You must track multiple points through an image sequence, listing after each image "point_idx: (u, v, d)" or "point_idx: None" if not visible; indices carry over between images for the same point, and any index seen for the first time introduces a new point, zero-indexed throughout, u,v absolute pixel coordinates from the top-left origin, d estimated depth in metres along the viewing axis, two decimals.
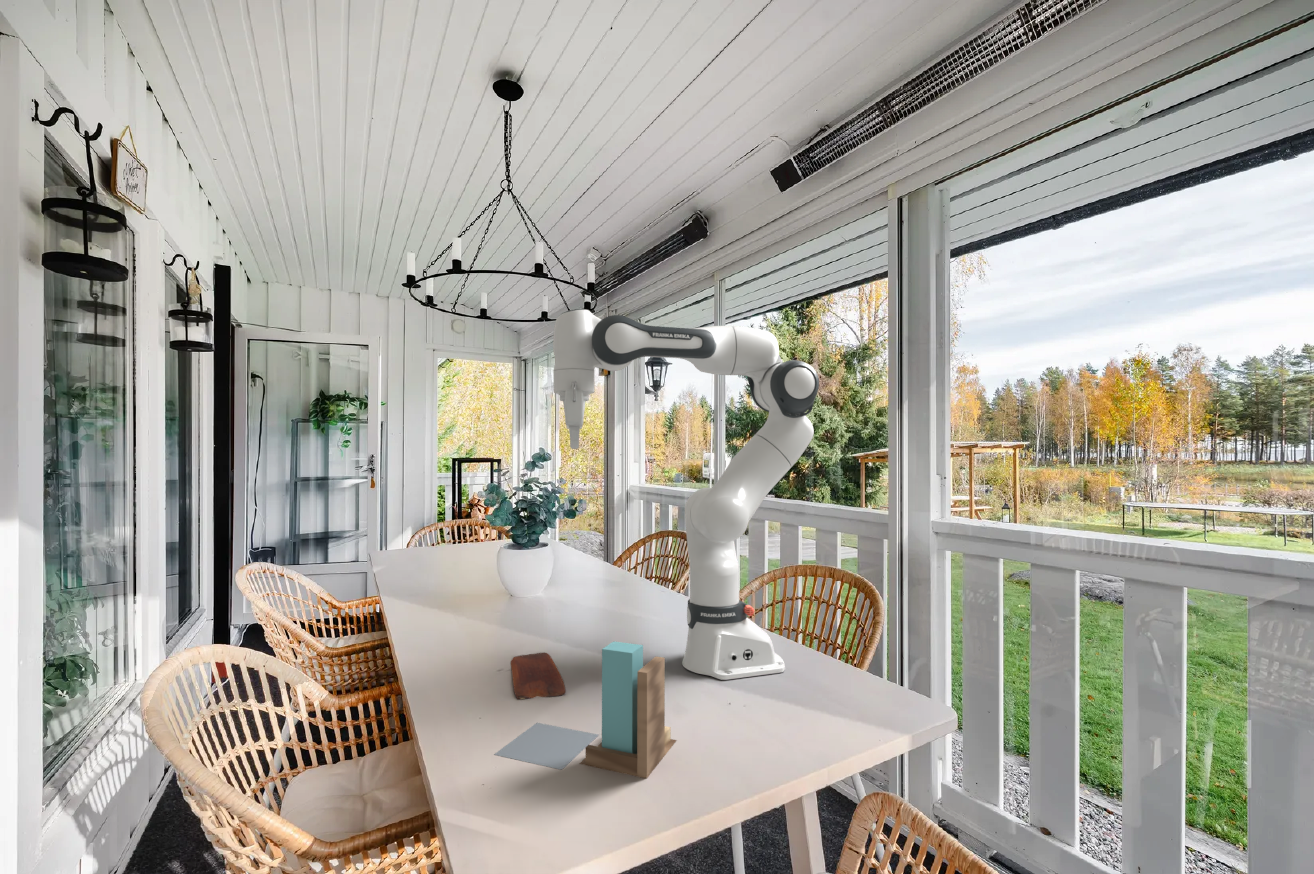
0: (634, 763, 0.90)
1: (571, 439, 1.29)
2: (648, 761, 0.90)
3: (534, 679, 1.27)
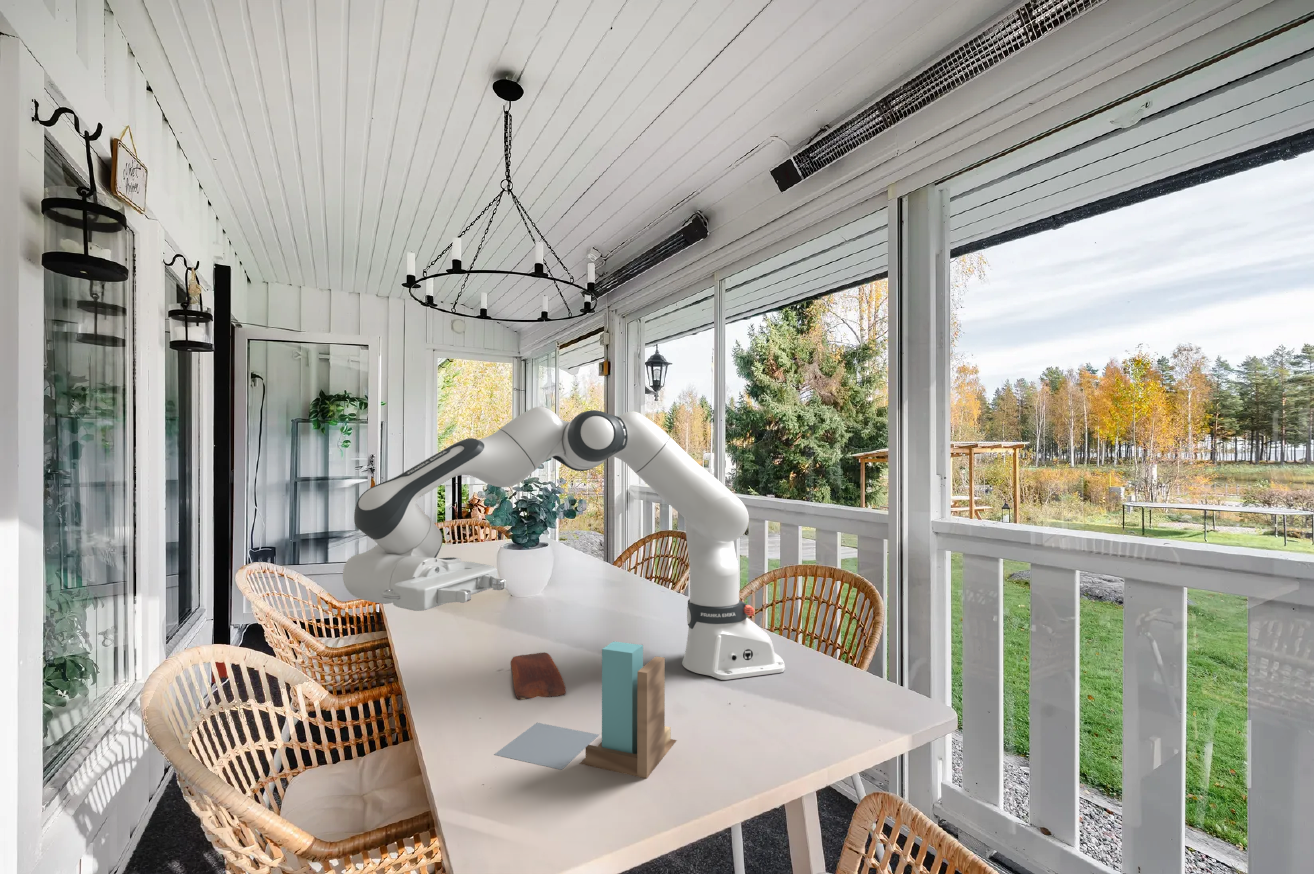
0: (634, 763, 0.90)
1: (454, 600, 1.00)
2: (648, 761, 0.90)
3: (535, 679, 1.27)
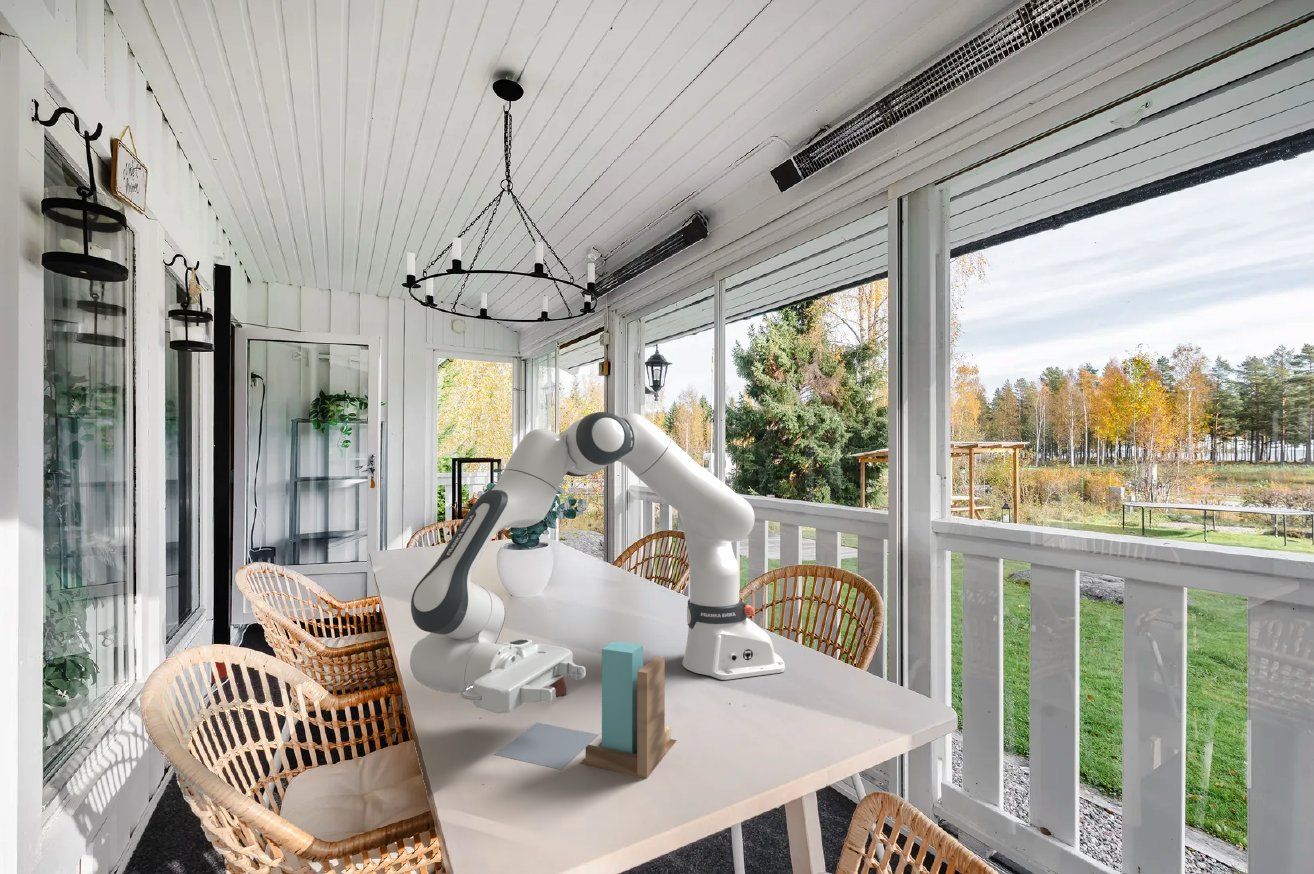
0: (634, 763, 0.90)
1: (539, 699, 0.94)
2: (648, 761, 0.90)
3: None
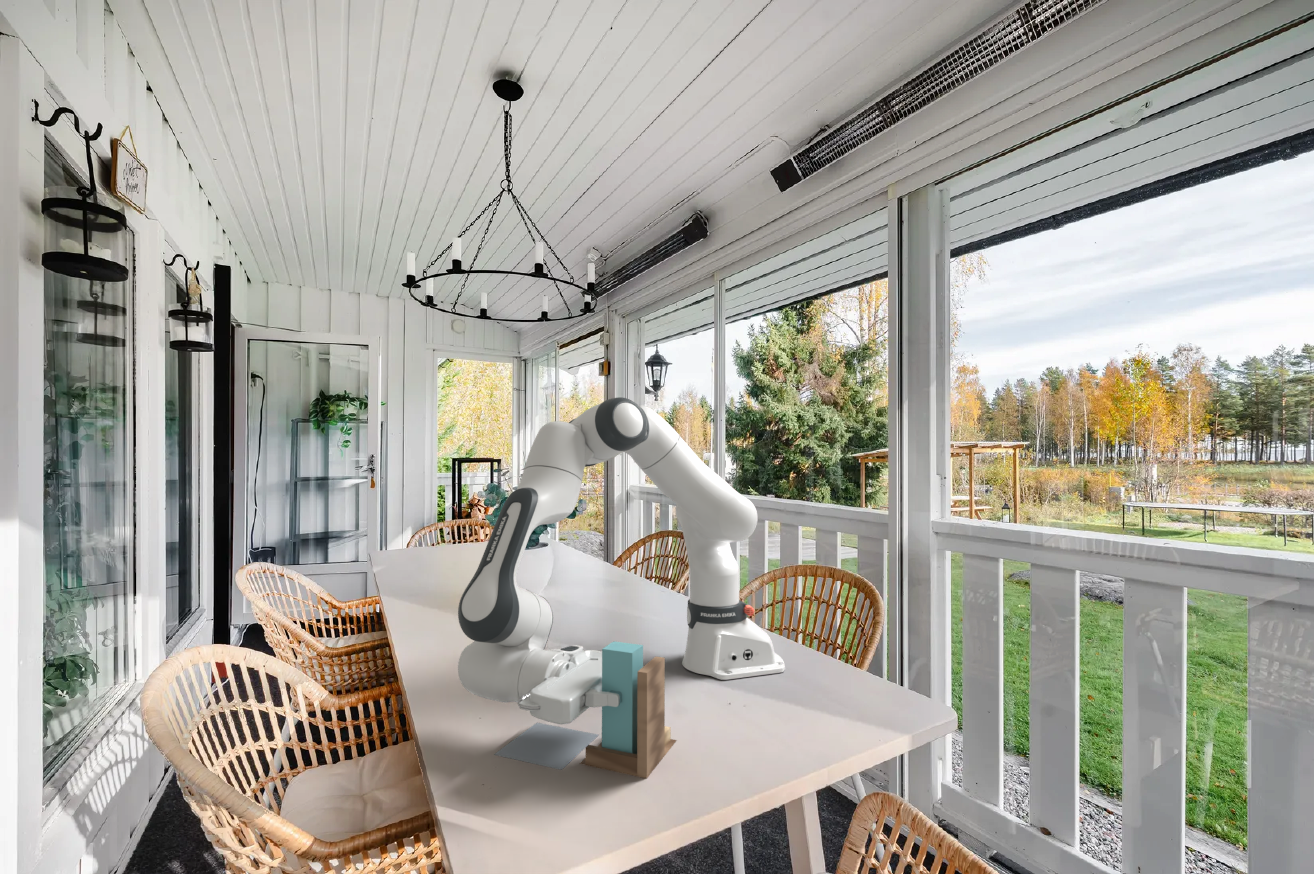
0: (634, 763, 0.90)
1: (606, 703, 0.92)
2: (648, 761, 0.90)
3: None
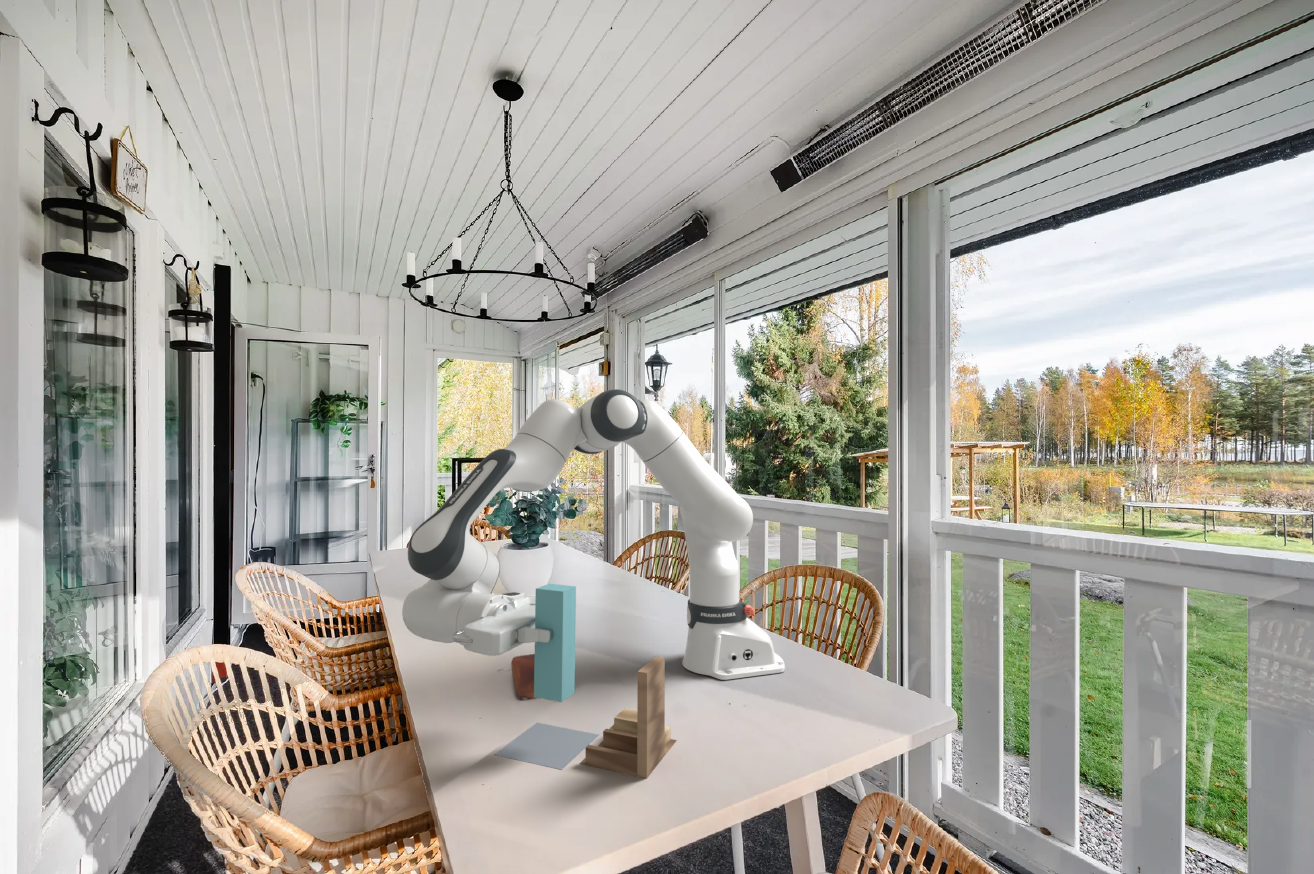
0: (634, 763, 0.90)
1: (537, 639, 0.96)
2: (648, 761, 0.90)
3: None
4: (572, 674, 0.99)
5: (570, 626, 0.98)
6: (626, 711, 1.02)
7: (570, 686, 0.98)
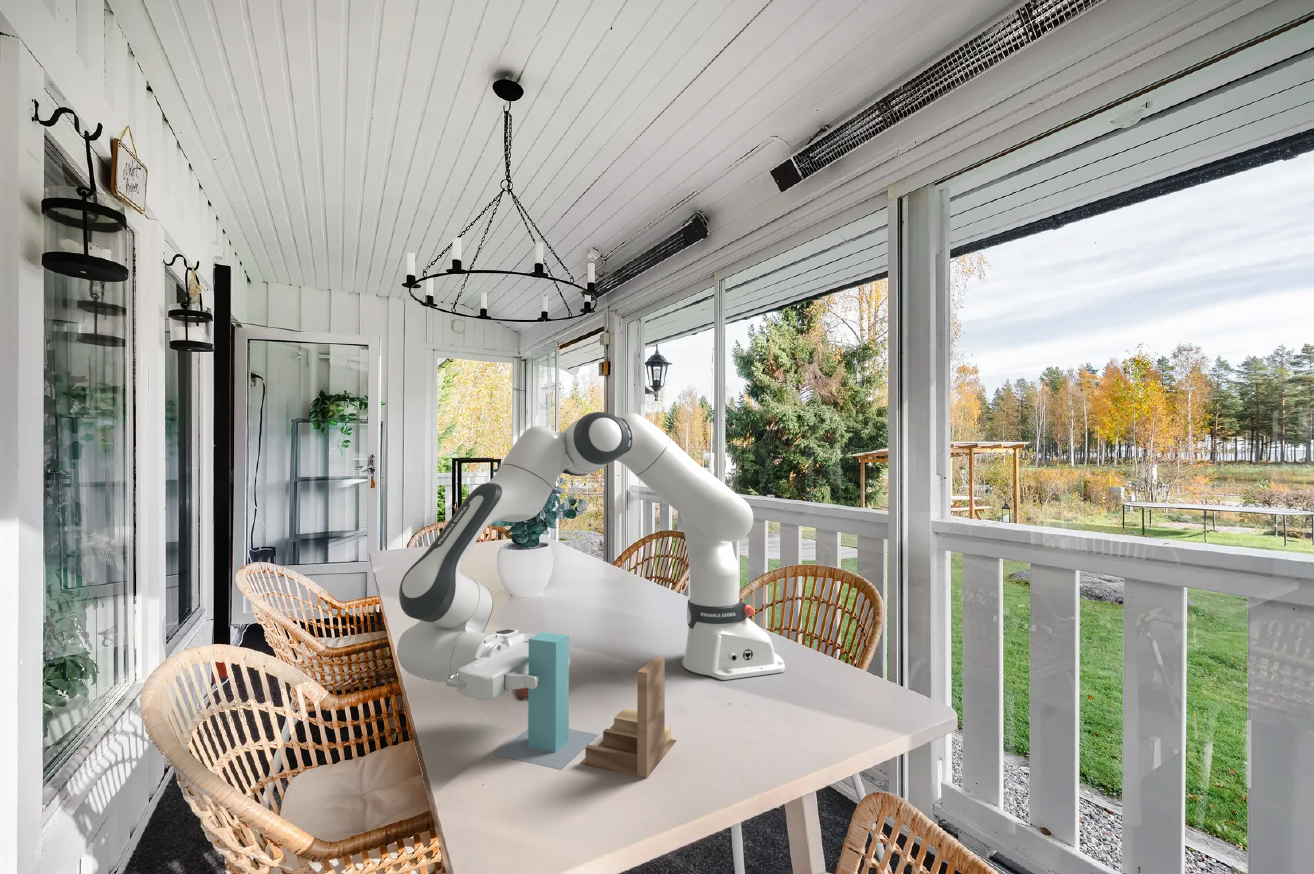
0: (634, 763, 0.90)
1: (524, 686, 0.95)
2: (648, 761, 0.90)
3: None
4: (566, 723, 1.00)
5: (564, 676, 0.99)
6: (626, 711, 1.02)
7: (564, 735, 0.99)
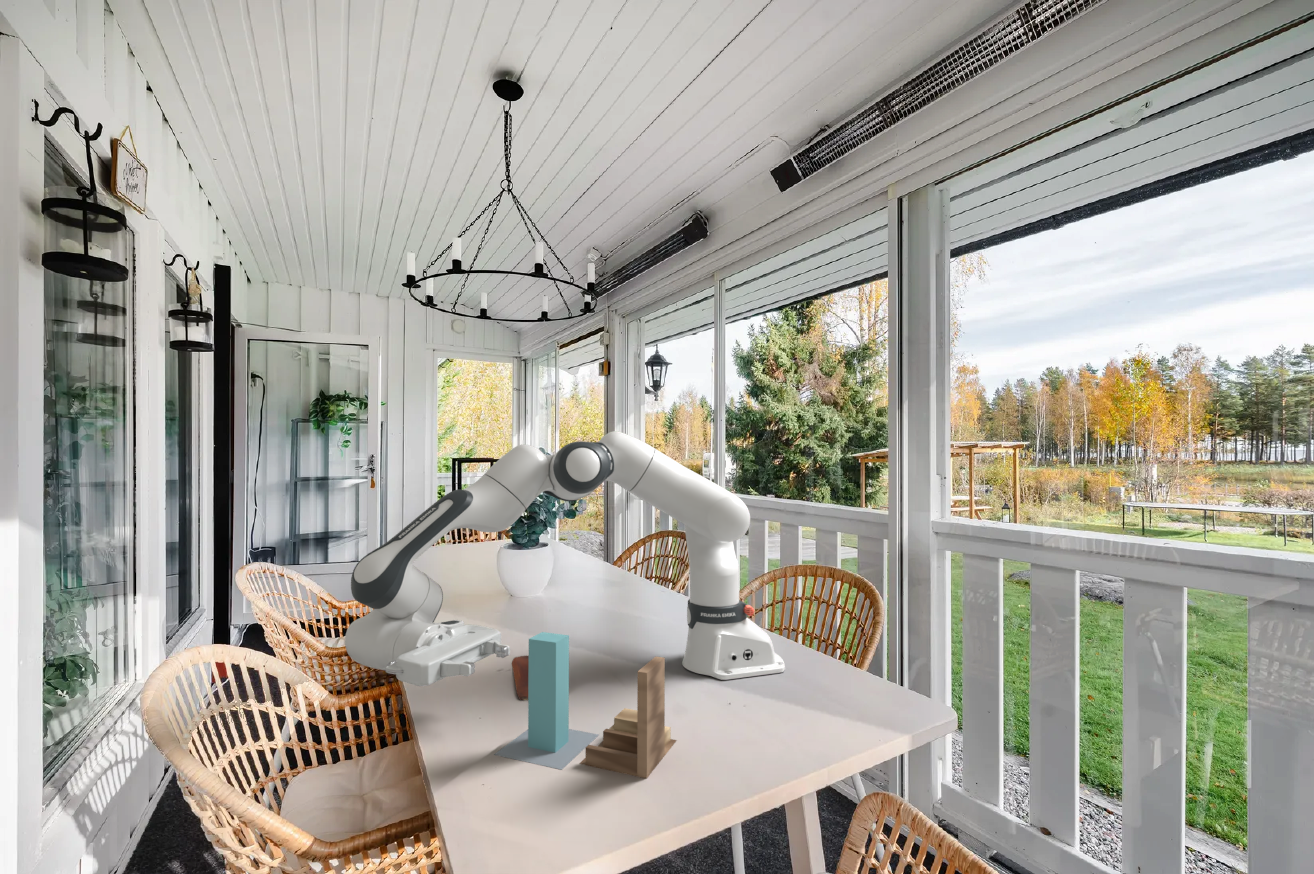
0: (634, 763, 0.90)
1: (458, 673, 0.99)
2: (648, 761, 0.90)
3: None
4: (566, 723, 1.00)
5: (564, 676, 0.99)
6: (626, 711, 1.02)
7: (564, 735, 0.99)
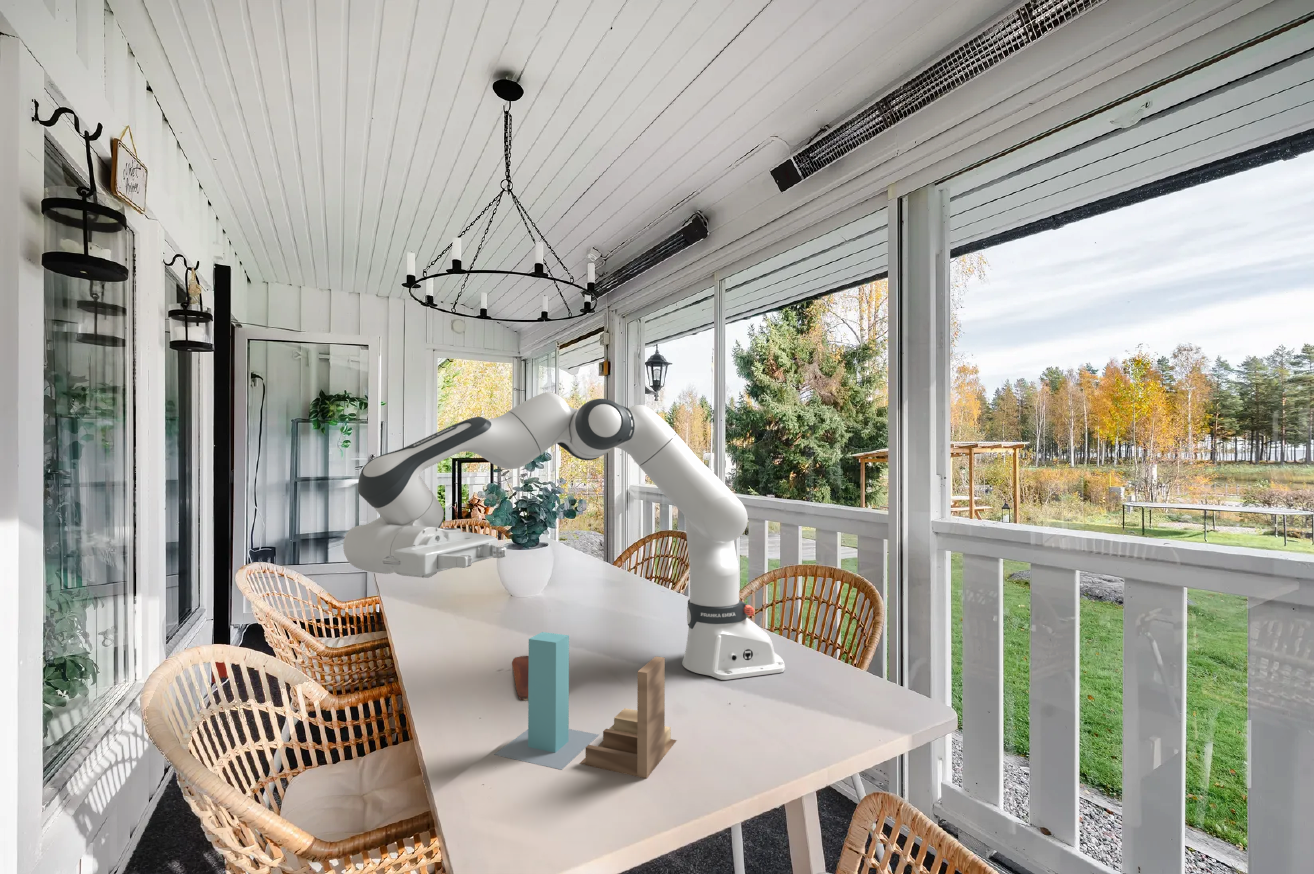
0: (634, 763, 0.90)
1: (455, 565, 1.00)
2: (648, 761, 0.90)
3: None
4: (566, 723, 1.00)
5: (564, 676, 0.99)
6: (626, 711, 1.02)
7: (564, 735, 0.99)
